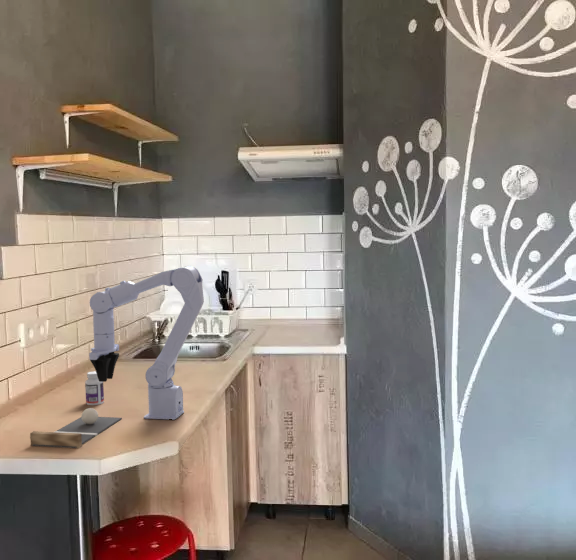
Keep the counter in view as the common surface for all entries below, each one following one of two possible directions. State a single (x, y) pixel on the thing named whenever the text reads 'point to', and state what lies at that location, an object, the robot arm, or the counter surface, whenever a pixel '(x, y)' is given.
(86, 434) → the lane
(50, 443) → the backstop rail
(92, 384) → the pill bottle
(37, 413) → the counter surface
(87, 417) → the ball
